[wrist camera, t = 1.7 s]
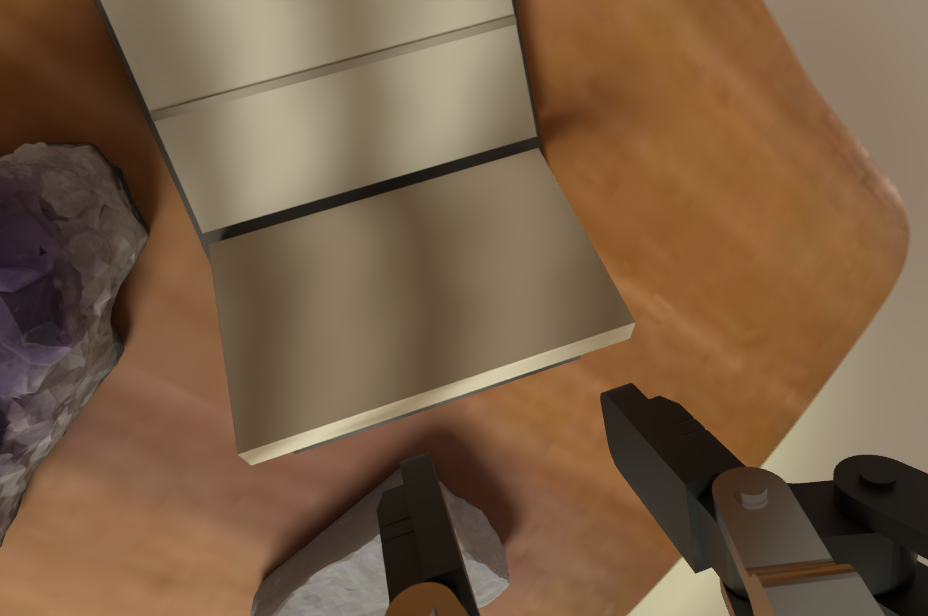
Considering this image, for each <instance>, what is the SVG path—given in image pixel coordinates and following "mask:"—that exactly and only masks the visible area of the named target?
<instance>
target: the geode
mask: <svg viewBox="0 0 928 616" xmlns="http://www.w3.org/2000/svg"><path fill="white" fill-rule="evenodd" d="M148 234H149V228H148V227H147V225H146V223H145V221H144V220H143V218H142V216H141V214H140V213H139V211H138V209H137V207H136V206H135V204H134V202H133V200H132V198H131V195H130V192H129V190H128V187H127V184H126V181H125V178H124V175H123V173H122V170H121V168H118V167H114V166H111V164H110V163H109V162H108V161H107V159H106V158H105V157H104V155H103V154H102V153H101V152H100V150H99V149H98V148H97V147H96V146H94V145H92V144H90V143H44V142H38V143H36V144H34V145H33V144H27V143H25V144H23V145H22V146H20V147H19V148H18V149H16V150H15V151H14V153H10V154H6V155H3V156H0V547H1V546H2V543H3V540H4V537H5V533H6V531H7V530H8V528H9V526H10V525H11V523H12V522H13V520H14V519H15V517H16V515H17V512H18V509H19V506H20V503H21V499H22V494H23V492H25V488H26V486H27V484H28V481H29V479H30V477H31V475H32V473H33V471H34V470H35V469H36V468H37V466H38V465H39V464H40V463H41V462H42V461H43V460H44V459H45V458H46V456H47V455H48V454H49V453H50V451H51V450H52V448H53V447H54V445H55V444H56V443H57V442H58V440H59V439H60V438H61V437H62V436H63V435H64V434H65V433H66V429H67V428H68V426H69V425H70V423H71V422H72V421H73V419H74V418H75V417H76V415H77V414H78V413H79V412H80V410H81V409H82V408H83V406H84V405H85V404H86V402H87V401H88V400H89V399H90V397H91V396H92V395H93V393H94V392H95V391H96V389H97V388H98V387H99V385H100V384H101V383H102V381H103V380H104V379H105V378H106V376H107V375H108V374H109V373H110V372H111V370H112V369H113V368H114V367H115V366H116V364H117V363H118V361H119V359H120V357H121V355H122V353H123V351H124V343H123V341H122V339H121V337H120V336H119V334H118V332H117V330H116V329H115V328H114V327H113V326H112V325H111V322H110V319H111V312H112V307H113V304H114V302H115V299H116V296H117V293H118V290H119V288H120V286H121V284H122V282H123V281H124V279H125V278H126V276H127V275H128V273H129V272H130V270H131V269H132V267H133V266H134V264H135V262H136V260H137V259H138V257H139V255H140V253H141V252H142V250H143V248H144V246H145V244H146V241H147V238H148Z"/></svg>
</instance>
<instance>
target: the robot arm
mask: <svg viewBox="0 0 928 616" xmlns="http://www.w3.org/2000/svg"><path fill="white" fill-rule="evenodd" d="M600 400H601V406H602V412H603V418H604V424H605V429H606V435H607V441H608V446H609V450H610V453H611V456H612V458H613V460H614V463H615V465H616V467H617V468H618V470H619V471H620V473H621V474H622V475H623V477H624V478H625V479H626V481H627V482H628V483H629V485H630V486H631V487H632V489H633V490H634V492H635V493H636V494H637V496H638V497H639V498H640V500H641V501H642V502H643V504H644V505H645V506H646V508H647V509H648V510H649V512H650V513H651V514H652V516H653V517H654V518H655V520H656V521H657V522H658V524H659V525H660V527H661V528H662V529H663V531H664V532H665V533H666V535H667V536H668V537H669V539H670V540H671V541H672V543H673V544H674V545H675V547H676V548H677V549H678V551H679V552H680V553H681V555H682V556H683V557H684V559H685V560H686V562H687V563H688V564H689V565H690V567H691V568H692V570H693V571H694V572H695V573H698V572H700V571H703V570H706V569H708V568H711V567H712V568H713V569H714V571H715V572H716V573H717V574H718V576H719V577H720V586H721V593H722V596H723V599H724V601H725V604H726V607H727V609H728V612H729V615H730V616H928V566H926V565H924V564H922V563H920V562H919V561H917V557H918V555H920V556H922V557H924V558H926V559H928V474H927V473H925V472H923V471H920V470H918V469H916V468H913V467H911V466H908V465H906V464H904V463H902V462H899V461H897V460H894V459H891V458H887V457H883V456H878V455H857V456H852V457H849V458H847V459H844V460H843V461H841V462H839V464H838V465H837V466H836V467H835V469H834V477H833V480H831V481H821V482H809V483H798V484H797V483H796V484H792V483H786V482H785V481H784V480H783V479H782V478H780V477H779V476H778V475H776V474H774V473H772V472H770V471H767V470H764V469H761V468H755V467H746V466H745V465H744V464H743V463H742V462H741V461H740V460H738V459H737V458H736V457H735V456H734V455H733V454H732V453H731V452H730V451H729V450H728V449H727V448H726V447H725V446H724V445H723V444H721V443H720V442H719V441H718V440H717V439H716V438H715V437H714V436H713V435H712V434H711V433H710V432H709V431H708V430H705V428H704V427H703V426H702V425H701V424H700V423H699V422H698V421H697V420H696V419H695V420H694V418H693V416H692V415H691V414H690V413H689V412H688V411H686V410H685V409H684V408H683V407H682V406H681V405H680V404H678V403H676V402H674V401H671V400H669V399H666V398H664V397H662V396H657V397H654V398H652V399H648V398H647V397H646V396H645V395H644V394H643V393H642V392H641V391H640V390H639V389H638V388H637V387H636V386H635V385H634V384H632V383H629V384H626V385H623V386H620V387H617V388H614V389H611V390H608V391H606V392H603V393H601V396H600ZM399 464H400V469H401V474H402V478H403V483H404V484H403V485H400V486H397V487H394V488H391V489H389V490H386V491H383V494H382V496H381V499H380V502H379V504H378V507H377V517H378V524H379V529H380V538H381V543H382V552H383V560H384V567H385V574H386V581H387V588H388V595H389V607H388V608H387V611H386V613H385V616H480V614H479V610H478V607H477V604H476V600H475V597H474V594H473V590H472V587H471V584H470V580H469V577H468V574H467V570H466V567H465V564H464V560H463V557H462V554H461V550H460V547H459V544H458V540H457V537H456V534H455V530H454V527H453V524H452V520H451V517H450V514H449V511H448V508H447V505H446V502H445V498H444V495H443V492H442V489H441V486H440V483H439V480H438V477H437V474H436V471H435V468H434V465H433V462H432V459H431V456H430V453H429V452H427V453H424V454H421V455H418V456H415V457H412V458H409V459H406V460H403V461H400V462H399Z"/></svg>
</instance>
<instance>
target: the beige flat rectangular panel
mask: <svg viewBox="0 0 928 616" xmlns="http://www.w3.org/2000/svg"><path fill="white" fill-rule="evenodd" d="M208 246H209V254H210V261H211V268H212V275H213V282H214V289H215V296H216V303H217V310H218V317H219V325H220V332H221V339H222V346H223V353H224V360H225V367H226V374H227V381H228V388H229V396H230V403H231V410H232V417H233V424H234V431H235V438H236V445H237V452H238V455H239V456H240V457H242V458H243V459H244V460H245V461H246V462H248V463H249V464H250V465H254V464H257V463H260V462H263V461H266V460H269V459H272V458H275V457H278V456H281V455H284V454H287V453H290V452H293V451H296V450H298V449H301V448H304V447H307V446H310V445H313V444H316V443H319V442H322V441H325V440H328V439H331V438H334V437H337V436H340V435H343V434H346V433H349V432H352V431H355V430H358V429H361V428H364V427H367V426H370V425H373V424H376V423H379V422H382V421H385V420H388V419H391V418H394V417H397V416H400V415H403V414H406V413H409V412H412V411H415V410H418V409H421V408H424V407H427V406H430V405H433V404H436V403H439V402H442V401H445V400H448V399H451V398H454V397H457V396H460V395H463V394H466V393H469V392H472V391H475V390H478V389H481V388H484V387H487V386H490V385H492V384H495V383H498V382H501V381H504V380H507V379H510V378H513V377H516V376H519V375H522V374H525V373H528V372H531V371H534V370H537V369H540V368H543V367H546V366H549V365H552V364H555V363H558V362H561V361H564V360H567V359H570V358H573V357H576V356H579V355H582V354H585V353H588V352H591V351H594V350H597V349H600V348H603V347H606V346H609V345H612V344H615V343H618V342H621V341H624V340H627V339H630V337H631V334H632V331H633V328H634V325H635V320H634V318H633V317H632V315H631V313H630V311H629V310H628V308H627V306H626V304H625V302H624V301H623V299H622V297H621V295H620V293H619V292H618V290H617V288H616V286H615V284H614V283H613V281H612V279H611V277H610V275H609V274H608V272H607V270H606V268H605V266H604V265H603V263H602V261H601V259H600V258H599V256H598V254H597V252H596V250H595V249H594V247H593V245H592V243H591V241H590V240H589V238H588V236H587V234H586V232H585V231H584V229H583V227H582V225H581V223H580V222H579V220H578V218H577V216H576V214H575V213H574V211H573V209H572V207H571V206H570V204H569V202H568V200H567V198H566V197H565V195H564V193H563V191H562V189H561V188H560V186H559V184H558V182H557V180H556V179H555V177H554V175H553V173H552V171H551V170H550V168H549V166H548V164H547V163H546V161H545V159H544V157H543V155H542V154H541V152H540V150H539V148H536V149H533V150H529V151H526V152H522V153H519V154H516V155H512V156H509V157H505V158H502V159H499V160H495V161H492V162H488V163H485V164H481V165H478V166H475V167H471V168H468V169H464V170H461V171H458V172H454V173H451V174H447V175H444V176H441V177H437V178H434V179H430V180H427V181H423V182H420V183H417V184H413V185H410V186H406V187H403V188H400V189H396V190H393V191H389V192H386V193H383V194H379V195H376V196H372V197H369V198H366V199H362V200H359V201H355V202H352V203H348V204H345V205H342V206H338V207H335V208H331V209H328V210H325V211H321V212H318V213H314V214H311V215H308V216H304V217H301V218H297V219H294V220H290V221H287V222H284V223H280V224H277V225H273V226H270V227H267V228H263V229H260V230H256V231H253V232H250V233H246V234H243V235H239V236H236V237H232V238H229V239H226V240H222V241H219V242H215V243H212V244H209V245H208Z"/></svg>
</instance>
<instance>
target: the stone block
mask: <svg viewBox="0 0 928 616" xmlns="http://www.w3.org/2000/svg"><path fill="white" fill-rule="evenodd" d="M439 483H440V486H441V489H442V492H443V495H444V498H445V502H446V505H447V508H448V511H449V514H450V517H451V520H452V524H453V527H454V530H455V534H456V537H457V540H458V544H459V547H460V550H461V554H462V557H463V560H464V564H465V567H466V570H467V574H468V577H469V580H470V584H471V587H472V590H473V594H474V597H475V600H476V604H477V607H478V609H479V608H480V607H483V606H485V605H487V604H489V603H490V602H491V601H492V600H494V599H495V598H496V597H497V596H498V595H500V594H501V593H502V592H503V591H504V590H505V589H506V588H507V587H508V585H510V584H509V574H508V564H507V562H506V554H505V551H504V548H503V546H502V543H501V542H500V540H499V536H498V535H497V533H496V531H495V530H494V529H493V528H492V526H491V525H490V523H489V521H488V519H487V517H486V516H485V515H484V514H483V512H482V511H481V510H479V509H477V508H476V507H474V506H472V505H470V504H469V503H467V502H466V501H465V500H464V499H462V498H459V497H456V496H454V495H453V494H452V493H451V492H450V491H448V490H447V488H446V487H445V485H443V484H442V482H441V481H439ZM403 484H404V483H403V478H402V474H401V469H400V468H399V469H398V470H396V471H395V472H394V473H392V474H391V475H390V476H389V477H388V478H386V479H385V480H384V481H383V482H382V483H380V484H379V485H378V486H376V487H375V488H374V489H373V490H372V491H370V492H369V493H368V494H367V495H366V496H365V497H363V498H362V499H361V500H360V501H358V502H357V503H356V504H355V505H354V506H352V507H351V508H350V509H349V510H348V511H346V512H345V513H344V514H343V515H342V516H340V517H339V518H338V519H337V520H335V521H334V522H333V523H332V524H331V525H329V526H328V527H327V528H326V529H324V530H323V531H322V532H320V533H319V534H318V535H317V536H316V537H315V538H314V539H313V540H312V541H311V542H310V543H309V544H308V545H306V546H305V547H304V548H302V549H300V550H299V551H297V552H296V553H295V554H294V555H293V556H291V557H290V558H289V559H288V560H287V561H285V562H284V563H283V564H282V565H280V566H279V567H278V568H277V569H276V570H275V571H274V572H272V573H271V574H270V575H269V576H268V577H267V578H266V579H265V580H264V581H263V582H262V584H261V585H260V586H259V589H258V591H257V592H256V594H255V596H254V600H253V604H252V610H251V616H385V613H386V611H387V608H388V607H389V595H388V588H387V581H386V574H385V567H384V560H383V552H382V543H381V538H380V529H379V524H378V517H377V507H378V504H379V502H380V499H381V496H382V494H383V491H386V490H389V489H391V488H394V487H397V486H400V485H403Z"/></svg>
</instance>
